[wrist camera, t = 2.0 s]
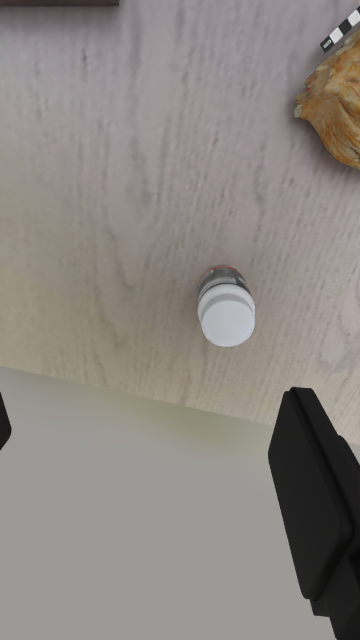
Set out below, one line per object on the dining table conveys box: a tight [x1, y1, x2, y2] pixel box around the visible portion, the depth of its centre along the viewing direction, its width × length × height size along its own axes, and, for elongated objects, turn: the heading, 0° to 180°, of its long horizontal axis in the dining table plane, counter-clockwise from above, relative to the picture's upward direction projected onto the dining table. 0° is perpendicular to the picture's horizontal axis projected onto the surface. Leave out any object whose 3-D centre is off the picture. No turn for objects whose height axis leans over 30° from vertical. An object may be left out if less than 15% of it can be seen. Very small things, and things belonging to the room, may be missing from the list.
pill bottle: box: [198, 266, 255, 347], centre depth 25 cm, size 5×5×8 cm
